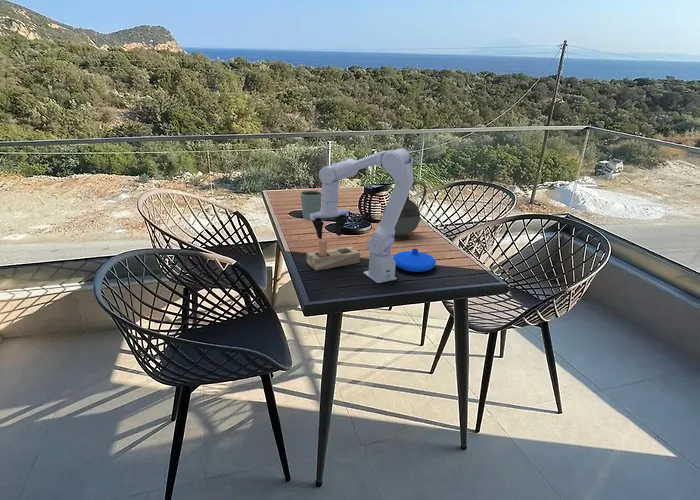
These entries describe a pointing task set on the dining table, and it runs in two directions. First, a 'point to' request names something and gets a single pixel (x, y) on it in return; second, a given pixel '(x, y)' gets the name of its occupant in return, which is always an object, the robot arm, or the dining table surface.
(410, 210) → the pitcher
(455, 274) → the dining table surface
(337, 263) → the hole block
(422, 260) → the blue round knobbed lid
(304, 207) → the green cup
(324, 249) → the peg
